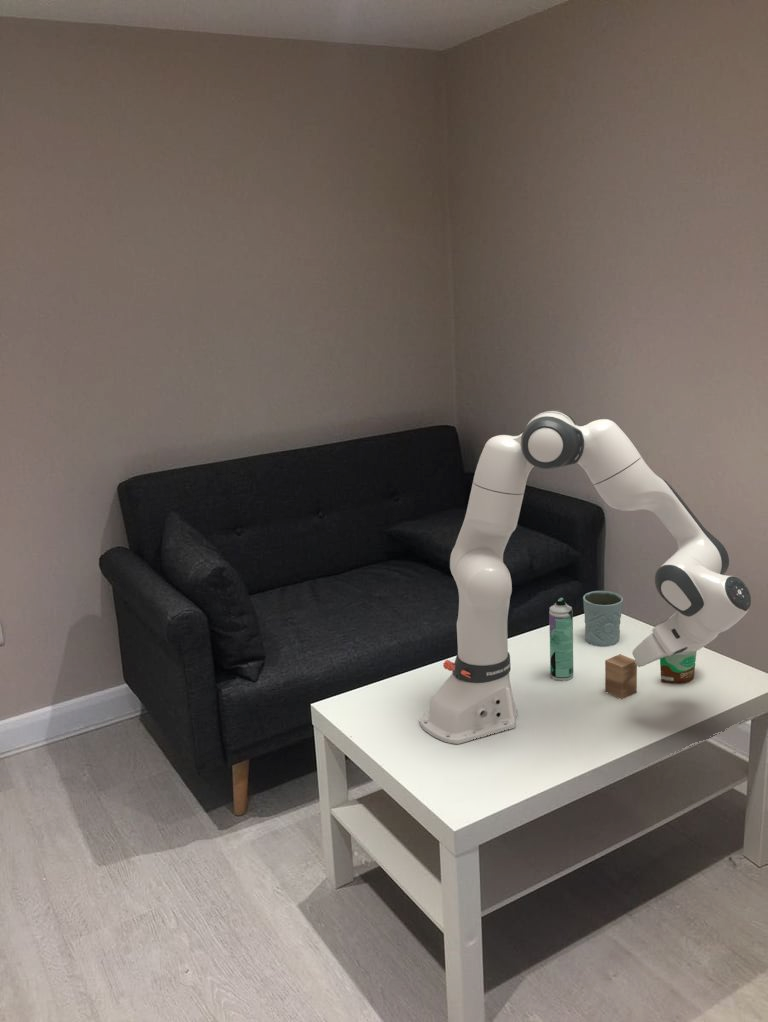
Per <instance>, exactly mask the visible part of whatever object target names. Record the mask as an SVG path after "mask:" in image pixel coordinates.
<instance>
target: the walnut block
mask: <svg viewBox="0 0 768 1022" xmlns="http://www.w3.org/2000/svg"><path fill="white" fill-rule="evenodd" d="M604 661H605V662H604V664H605V665H604V671H605V673H604V674H605V675H604V676H605V677H604V678H605V679H604V681H605V682H604V685H605V687H604V688H605V689H604V690H605V691H604V692H605V693H607V692H608V693H607V694H609V693H610V694H609V695H611V694H612V695H611V696H613V695H614V696H613V697H615V698H617V699H618V698H619V699H620V698H621V699H620V700H623V698H624V699H626V698H627V697H631V696H632V694H633V695H635V694H637V691H638V685H637V684H638V683H637V680H638V666H637V665H636V663H635V658H634V659H633V658H631V657H628V656H626V655H623V654H621V653H620V654H616V655H615V656H613V657H610V658H607V659H605V660H604Z"/></svg>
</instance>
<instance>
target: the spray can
mask: <svg viewBox="0 0 768 1022" xmlns="http://www.w3.org/2000/svg"><path fill="white" fill-rule="evenodd" d="M548 612H549V613H548V614H549V615H548V616H549V617H548V619H549V663H550V664H549V665H550V668H549V669H550V670H549V671H550V673H549V674H550V678H551V679H552V680H553V681H558V682H559V681H560V682H567V681H569V680H572V679H573V678H574V627H573V626H574V621H573V620H574V618H573V615H574V613H573V607H572V606H570V605H569V604H567V603H566V601H565V598H564V597H557V599H556V602H554V604H553V605H551V606H550V607H549V611H548Z"/></svg>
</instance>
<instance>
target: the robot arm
mask: <svg viewBox="0 0 768 1022" xmlns="http://www.w3.org/2000/svg"><path fill="white" fill-rule="evenodd" d="M574 464H578V465H579V466H580V467H581V468H582V469H583V470H584V471H585V473H586V474H587V476H588V478H589V480H590V482H591V483H592V485H593V486H594V489H595V490H596V492H597V493H598V495H599V496H600V497H601V499H602V500H603V501H604V502H605V503H606V504H607V505H608V506H609V507H610V508H612V509H616V510H618V511H623V512H632V511H640V510H644V511H645V510H646V511H650V512H652V514H655V516H657V518H659V519H660V521H661V522H662V524H663V526H665V527H666V529H667V530H668V532H670V534H671V535H672V536H673V538H674V539H675V540H676V543H677V551H676V552H675V553H674V554H673V555H672V556H671V557H670V558H668V559H667V560H665V562H664V563H663V564H662V565H661V566H659V568H658V569H657V570H656V571H655V574H654V585H655V589H656V591H657V593H658V594H659V596H660V597H661V598H662V599H663V600H664V601H665V602H666V603H667V604H668V605H670V606H671V608H673V609H675V610H676V612H674V613H673V614H672V615H671V616H669V618H668V619H666V620H665V621H662V622H661V623H659V624H657V625H656V626H655V627H653V628H652V630H651V631H652V633H651V634H649V635H648V636H646V638H644V639H643V640H642V641H641V642H640V643H639V644H638V645H637V646H636V647H635V648H634V649H633V650H632V656H633V658H634V660H635V663H636V665H637V668H641V667H645V666H647V665H649V664H652V663H653V662H655V661H658V660H660V659H661V658H663V657H665V656H670V655H674V654H677V653H680V652H686V651H697V652H698V651H700V650H701V649H702V648H704V647H705V646H707V645H708V644H710V643H711V642H712V641H713V640H715V639H716V638H717V637H718V635H719V634H720V633H723V632H727V631H728V630H729V629H731V628H732V627H733V626H735V625H736V624H737V623H738V622H739V621H741V619H742V618H744V617H745V616H746V614H747V613H748V612H749V609H750V607H751V604H752V598H751V597H752V596H751V595H752V594H751V592H750V589H749V587H748V586H747V585H746V583H745V582H744V581H743V580H742V579H741V578H739V577H738V576H736V575H735V576H734V575H726V573H727V572H728V569H729V567H730V557H729V553H728V552H727V549H726V548H725V546H724V544H722V542H721V541H720V540H719V539H717V537H715V536H714V535H713V534H711V533H710V532H709V530H707V529H706V528H705V527H704V525H703V524H702V523H701V521H699V519H698V518H697V517H696V515H695V514H694V513H693V511H692V510H691V509H690V508H689V506H688V505H687V504H686V502H685V501H684V500H683V499H682V497H681V496H680V495H679V494H678V492H677V491H676V490H675V489H674V488H673V486H672V485H671V484H670V483H669V482H668V481H667V480H666V479H665V478H663V477H662V476H659V475H657V474H656V473H655V472H654V471H653V470H652V469H651V468H650V466H649V465H648V464H647V463H646V462H645V460H644V458H643V457H642V455H641V454H640V452H639V450H638V449H637V448H636V447H635V445H634V444H633V442H632V441H631V440H630V438H629V437H628V436H627V435H626V433H625V432H624V431H623V430H622V429H621V428H620V426H619V425H618V424H617V423H616V422H614V421H613V420H611V419H607V418H603V419H596V420H593V421H590V422H589V423H587V424H585V425H583V426H582V425H581V426H579V425H577V424H576V421H575V420H574V418H572V416H570V415H569V414H567V413H566V412H564V411H561V410H558V409H550V410H545V411H542V412H541V413H538V414H536V415H535V416H534V417H532V418H531V419H530V421H529V422H528V423H527V424H526V426H525V428H524V429H523V430H522V431H521V432H520V433H519V435H509V434H499V435H495V436H493V437H491V438H488V440H487V441H486V443H485V445H484V447H483V449H482V452H481V453H480V456H479V458H478V462H477V464H476V469H475V471H474V476H473V480H472V485H471V490H470V493H469V499H468V502H467V503H468V504H467V508H466V512H465V515H464V519H463V522H462V526H461V528H460V531H459V533H458V535H457V538H456V541H455V545H454V547H453V548H452V551H451V553H450V558H449V569H450V572H451V575H452V576H453V577H452V578H453V580H454V581H455V584H456V586H457V590H458V592H457V593H458V612H457V613H458V614H457V615H458V616H457V621H456V635H457V636H456V637H457V638H456V639H457V654H456V656H455V660H454V661H453V662H452V661H451V660H449V659H446V660H444V662H443V665H442V666H443V668H444V669H445V670H448V671H450V672H452V673H451V674H450V675H449V677H448V678H447V679H446V680H445V681H444V682H443V683H442V684H441V686H440V687H439V688H438V689H437V690H436V691H435V692H434V694H433V695H432V696H431V698H430V702H429V711H428V712H426V713H425V714H423V715H421V716H420V717H419V725H420V727H421V728H422V729H423V730H424V731H425V732H426V733H428V734H429V735H431V736H432V737H434V738H436V739H438V740H441V741H442V742H446V743H449V744H454V745H460V744H464V743H467V742H470V741H474V740H477V739H480V737H481V738H484V737H487V735H488V736H490V734H491V735H494V733H495V734H498V733H500V732H501V731H502V732H504V730H505V731H509V730H512V729H515V728H516V726H517V722H516V718H517V716H518V709H517V706H516V703H515V700H514V695H513V690H512V685H511V678H510V672H511V669H512V668H511V654H510V653H509V647H508V645H509V644H508V640H509V639H508V616H509V609H510V600H511V595H512V592H513V587H512V586H513V585H512V584H513V583H512V578H511V573H510V571H509V569H508V568H507V565H506V564H505V563H504V553H505V549H506V547H507V544H508V542H509V539H510V537H511V536H512V534H513V532H515V531H516V528H517V527H518V521H519V518H520V513H521V508H522V504H523V500H524V495H525V490H526V485H527V481H528V477H529V475H530V472H531V470H532V469H533V468H534V467H535V468H537V469H540V470H553V469H558V468H563V467H566V466H570V465H574ZM508 729H509V730H508ZM502 732H501V733H502ZM476 738H477V739H476ZM473 739H474V740H473Z"/></svg>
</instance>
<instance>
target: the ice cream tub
mask: <svg viewBox="0 0 768 1022" xmlns="http://www.w3.org/2000/svg"><path fill="white" fill-rule="evenodd" d="M697 652H698V650H697V651H686V652H680V653H677V654H674V655H670V656H665V657H663V658H661V659H659V664H660V665H659V666H660V681H661V682H662V683H665V684H669V685H670V684H672V685H680V684H681V685H682V684H688V683H690V682H692V681H693V680H694V678H695V669H696V662H697V661H696V659H697Z"/></svg>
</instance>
